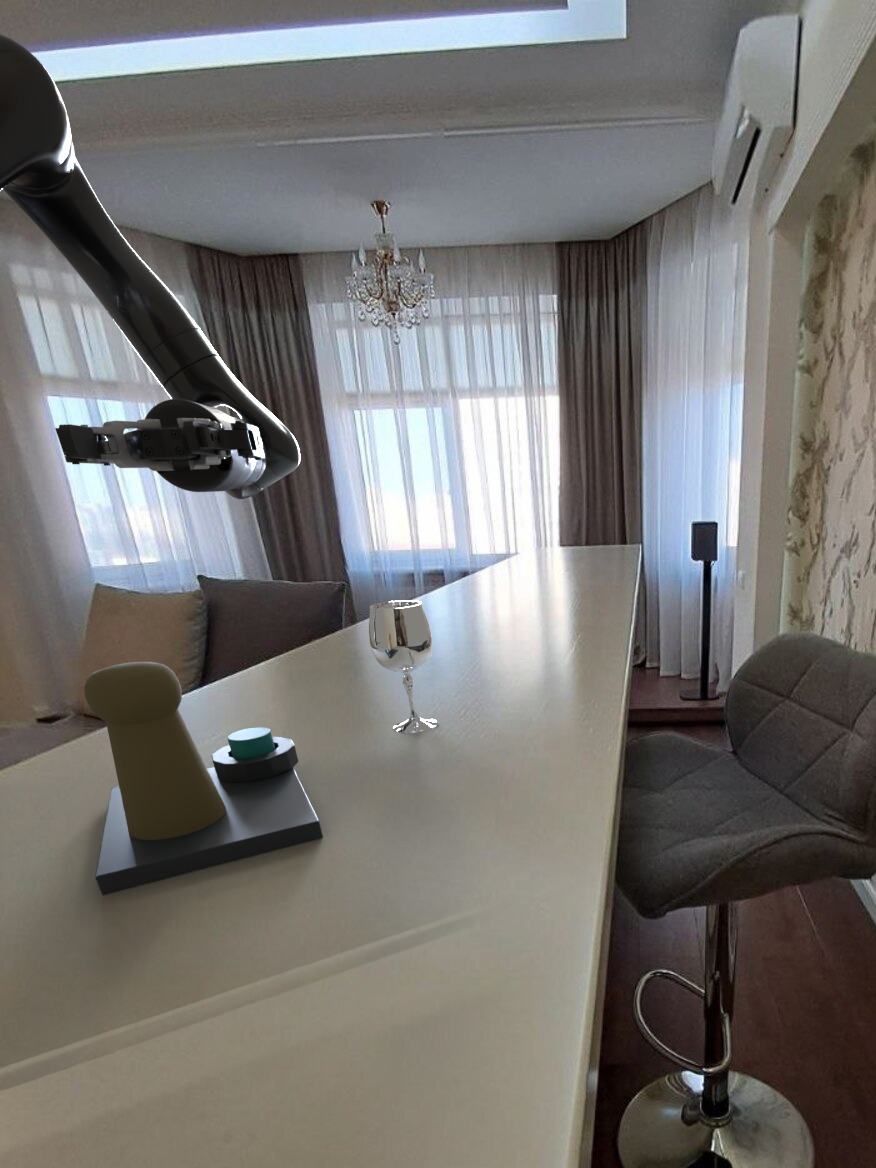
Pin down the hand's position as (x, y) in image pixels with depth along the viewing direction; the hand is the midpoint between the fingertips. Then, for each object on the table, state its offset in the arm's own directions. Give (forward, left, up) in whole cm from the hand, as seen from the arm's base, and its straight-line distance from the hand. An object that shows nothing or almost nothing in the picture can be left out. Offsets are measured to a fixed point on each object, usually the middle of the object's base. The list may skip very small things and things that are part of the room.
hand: (130, 438), depth 51 cm
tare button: (+2, -8, -23) cm, 25 cm away
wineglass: (+17, -1, -26) cm, 31 cm away
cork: (-4, -15, -25) cm, 29 cm away
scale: (-2, -13, -26) cm, 29 cm away
